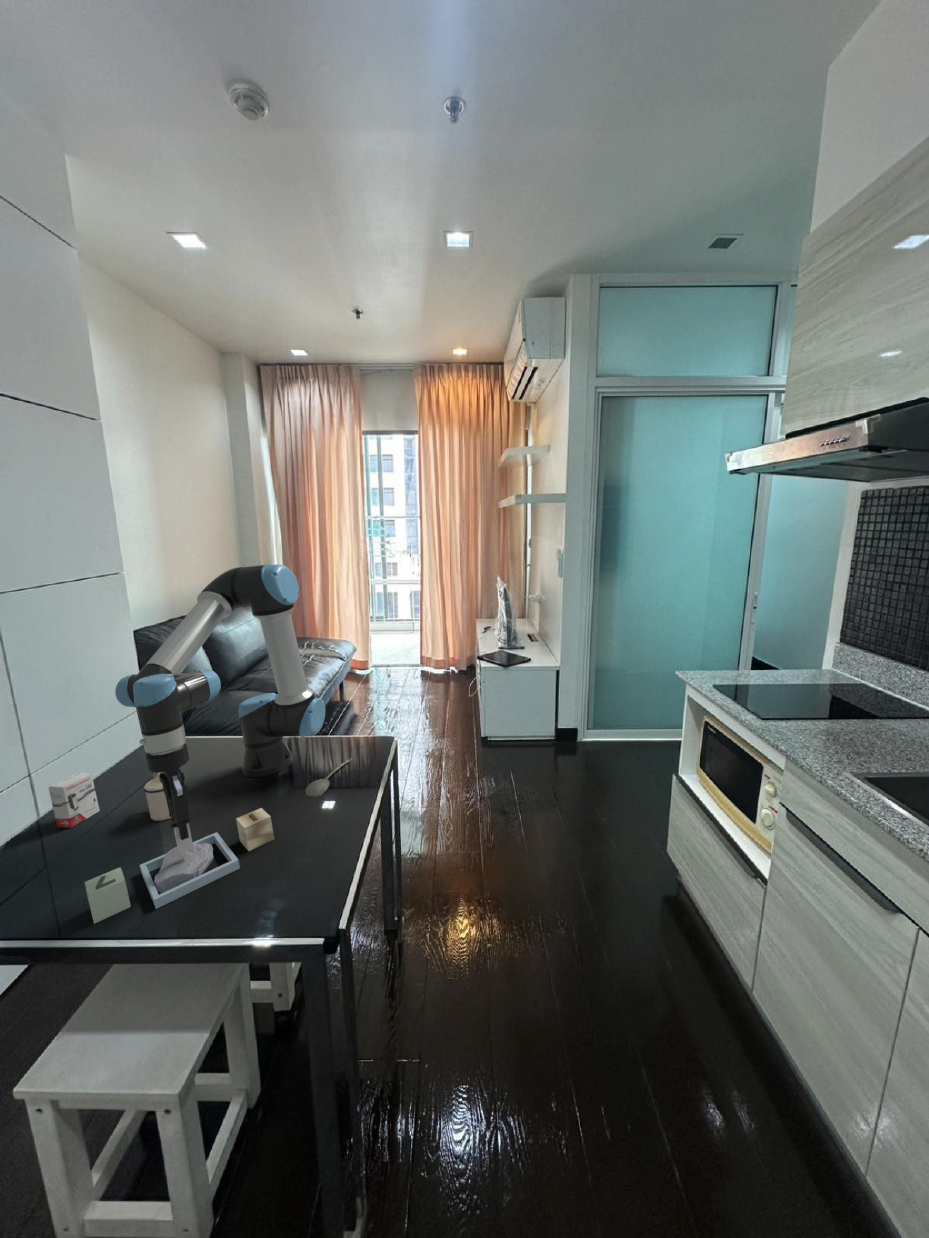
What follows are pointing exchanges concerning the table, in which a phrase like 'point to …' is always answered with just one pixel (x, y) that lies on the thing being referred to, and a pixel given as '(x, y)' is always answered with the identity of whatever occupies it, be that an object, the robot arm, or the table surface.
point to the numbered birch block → (255, 829)
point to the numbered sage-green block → (107, 894)
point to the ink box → (74, 799)
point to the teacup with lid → (156, 800)
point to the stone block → (183, 866)
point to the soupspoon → (321, 783)
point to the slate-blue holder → (193, 883)
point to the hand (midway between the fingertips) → (185, 849)
